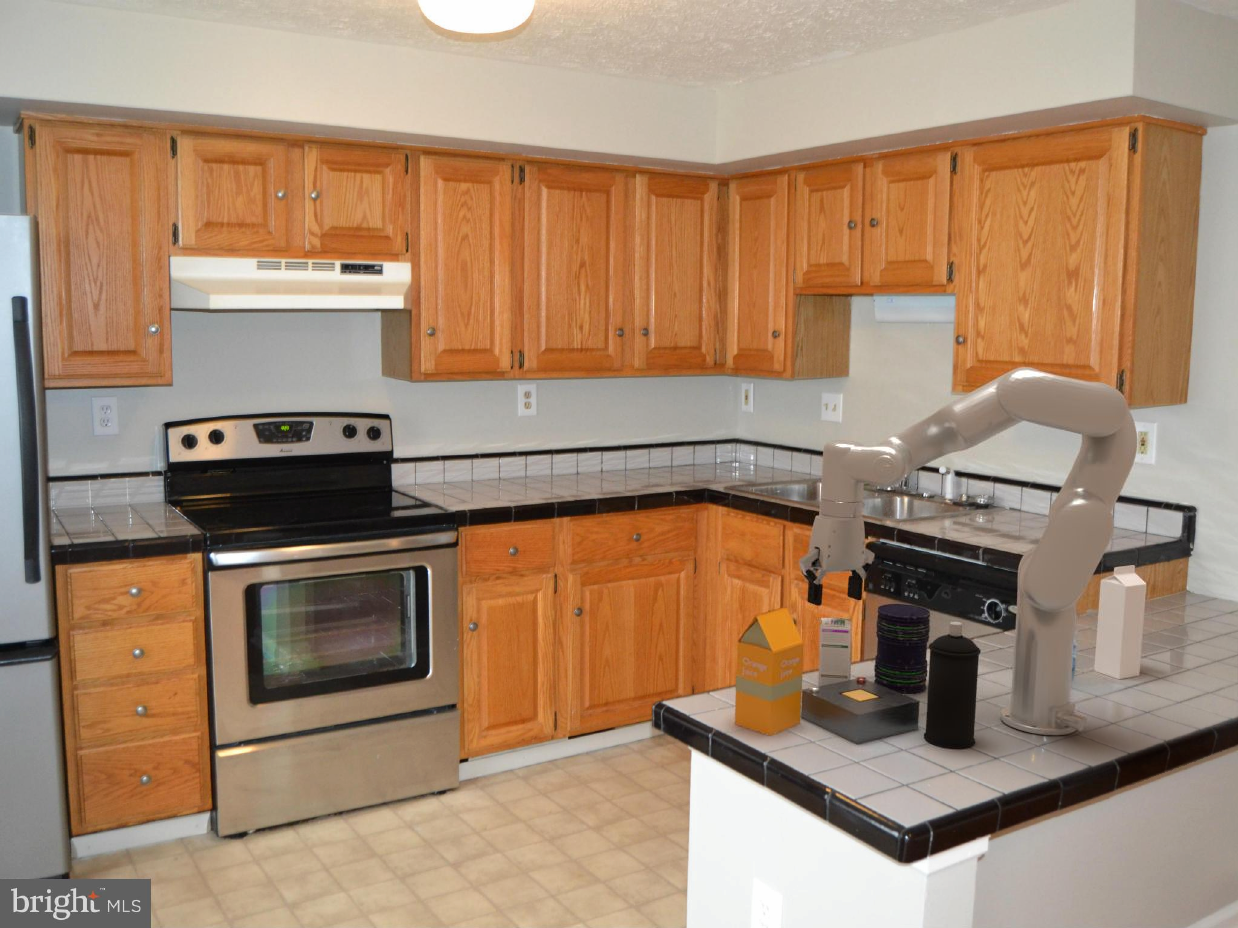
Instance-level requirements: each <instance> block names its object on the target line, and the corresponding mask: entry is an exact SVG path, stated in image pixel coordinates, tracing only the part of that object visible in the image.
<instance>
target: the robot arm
mask: <svg viewBox="0 0 1238 928" xmlns="http://www.w3.org/2000/svg"><path fill="white" fill-rule="evenodd" d="M1022 422H1028V423H1032V424H1035V425H1039V426H1042V427H1047V428H1051V429H1056V430H1061V431H1066V432H1070V433H1074V434H1078V435H1081V443H1080V444H1081V445H1080V449H1079V450H1078V451H1079V452H1078V454H1077V456H1076V458H1075V460H1074V462H1073V465H1072V467H1071V469H1070V472H1069V473H1068V474H1067V477H1066V479H1065V481H1064V483H1063V485H1062V487H1061V488H1060V490H1059V492H1058V494H1057V495H1056V497H1055V499H1054V500H1053V502H1052V503H1051V505H1050V507H1049V510H1048V524H1047V526H1046V527H1045V529H1044V531H1043V533H1042V536H1041V538H1040V540H1039V541H1038V543H1037V545H1034V546H1032V547H1030V548H1029V549H1028V550H1027V551H1026V552H1024V554H1023V555H1022V557H1021V559H1020V561H1019V564H1018V568H1017V593H1016V594H1017V598H1016V600H1017V601H1016V616H1015V632H1014V645H1013V657H1012V658H1013V661H1012V676H1011V677H1012V678H1011V689H1010V691H1011V692H1010V705H1007V706H1005V707H1003V708H1002V709H1001V710H1000V720H1001V721H1002V722H1003V723H1005V725H1007V726H1008V727H1012V728H1013V729H1015V730H1019V731H1023V732H1026V733H1030V734H1035V735H1045V736H1065V735H1069V734H1073V733H1074V732H1076V731H1080V732H1081V731H1083V730H1084V728H1085V726H1086V724H1087V722H1088V717H1087V716H1085V715H1083V714H1078V713H1076V711H1075V710H1076V703H1074V702H1071V687H1072V673H1073V660H1074V658H1073V657H1074V644H1075V634H1076V622H1077V621H1076V617H1077V601H1079V599H1080V598H1081V596H1082V595H1083V593H1084V592H1085V589H1086V587H1087V586H1088V585H1089V583H1090V581H1091V579H1092V577H1093V575H1094V573H1095V571H1096V569H1097V567H1098V565H1099V564H1100V561H1101V560H1102V558H1103V556H1104V554H1105V552H1106V551H1107V548H1108V546H1109V545H1110V542H1111V539H1112V536H1113V533H1114V526H1115V522H1114V517H1113V513H1112V512H1113V509H1114V507H1115V505H1116V503H1117V501H1118V498H1119V497H1120V494H1121V493H1122V490H1123V488H1124V486H1125V484H1126V481H1127V479H1128V478H1129V475H1130V472H1131V471H1132V468H1133V466H1134V462H1135V460H1136V455H1137V451H1138V434H1137V427H1136V424H1135V421H1134V417H1133V415H1132V413H1131V411H1130V409H1129V404H1128V402H1127V399H1126V398H1125V396H1124V395H1123V393H1122V392H1120V391H1119V390H1118V389H1117V388H1115V387H1113V386H1111V385H1109V384H1107V383H1104V382H1100V381H1086V380H1081V379H1076V378H1071V377H1066V376H1062V375H1058V374H1054V373H1050V372H1046V371H1045V372H1044V371H1042V370H1038V369H1036V368H1034V367H1029V366H1022V367H1021V366H1020V367H1016V368H1014V369H1012V370H1010V371H1007V372H1006V373H1005V374H1002V375H1001V376H999V377H996V378H995V379H993V380H991V381H989V382H987V383H986V384H984V385H982V386H980V387H978V388H975V390H972V391H971V392H969V393H967V394H965V395H963V396H961V397H960V398H957V399H956V400H953V401H951V402H949V403H948V404H946V405H945V406H943V407H941V408H939V409H938V410H937V411H935V412H934V413H932V414H931V415H930V416H929V415H928V417H925V418H923V419H922V420H920V421H918V422H916V423H914V424H913V425H911V426H908V427H907V428H905V429H903V430H901V431H900V432H897V433H896V434H894V435H892V436H890V437H888V438H885V439H883V440H882V441H881V442H879V443H877V444H876V445H864V444H863V443H862V442H858V441H853V440H841V439H840V440H830V441H827V442H826V443H825V444H824V447H823V453H822V467H821V484H820V499H819V510H818V511H819V512H818V514H819V515H816V516H815V518H814V521H813V525H812V528H811V534H810V539H809V545H808V553H806V554H805V555H804V556H803V557H801V558H799V560H798V565H799V567H800V570H801V574H802V575H803V577H804V578H805V581H806V582H807V583H808V584H807V585H808V586H807V597H806V598H807V599H806V600H807V603H809V604H811V605H814V606H816V607H817V606H818V607H820V606H821V605H822V603H823V589H824V588H823V586H824V585H823V584H822V583H821V582H822V580H823V579H824V578H825V576H826V574H832V573H834V574H835V573H841V572H843V573H844V572H849V573H850V574H851V575H848V581H847V597H848V598H850V599H853V600H856V601H861V600H862V599H863V587H864V585H863V584H864V579H866V578H867V573H868V572H869V570H870V569H871V567H872V562H873V561H874V559H875V553H874V552H872V551H871V550H870V549H868V548H866V534H865V533H866V532H865V523H864V517H863V516H862V513H863V509H864V508H865V502H864V499H863V498H864V488H865V487H864V486H865V484H868V485H871V486H875V487H880V488H891V487H895V486H897V485H899V484H900V483H901V482H902V481H903V480H904V479H905V478H906V476H907V475H908V474H910V473H912V472H914V471H916V470H918V469H920V468H922V467H923V466H926V465H928V464H929V463H931V462H933V461H936V460H937V459H940V458H943V457H945V456H947V455H949V454H952V453H958V452H963V451H966V450H969V449H972V448H974V447H977V446H978V445H979V444H981V443H983V442H985V441H988V440H989V439H991V438H993V437H995V436H996V435H999V434H1000V433H1002V432H1004V431H1006V430H1008V429H1010V428H1012V427H1015V426H1016V425H1018V424H1020V423H1022Z"/></svg>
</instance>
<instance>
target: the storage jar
mask: <svg viewBox="0 0 1238 928" xmlns="http://www.w3.org/2000/svg"><path fill="white" fill-rule="evenodd" d="M930 617H931V611H930V610H929V609H927V608H924V607H921V606H917V605H912V604H905V603H889V604H882V605H880V606H878V607H877V618H876V632H875V634H876V637H877V647H876V655H875V659H874V662H875V663H874V669H873V670H874V678H875V679H874V682H873V683H876V684H878V685H881V686H883V687H886V688H888V689H891V690H893V691H896V692H898V693H901V694H913V695H918V694H922V693H924V692H925V691H926V689H927V685H926V683H927V677H928V660H927V651H928V642H929V640H930V632H931V630H930V629H931V628H930V627H931V625H930V623H931V622H930Z"/></svg>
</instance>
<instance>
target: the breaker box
mask: <svg viewBox="0 0 1238 928" xmlns="http://www.w3.org/2000/svg"><path fill="white" fill-rule="evenodd" d="M860 689H861V690H863V691H866V692H868V693H871V694H873V695H875V696H878V697H879V698H878V699H874V700H869V701H865V702H860V703H859V702H857V701H855V700H852V699H850V698H848V697H845V696H843V695H842V693H846V692H850V691H855V690H860ZM920 702H921V701H920V700H919V699H915V698H913V697H910V696H909V695H903V694H901V693H898V692H896V691H893V690H891V689H888V688H886V687H883V686H881V685H878V684H876V683H874V682H873V681H871V680H869V679H867V678H866V677H864V676H857V677H856V678H855V679H850V680H848V681H843V682H838V683H833V684H828V685H823V686H815V685H813V686H812V685H811V686H810V687H809V688H804V689H802V691H801V716H800V719H801V718H802V720H803V719H804V720H805V721H808V722H809V723H811V724H815V725H817V726H818V727H820V728H823V729H824V730H827V731H829V732H830V733H832V734H835V735H838V736H839V737H841V738H844V739H846V740H848V741H850V742H851V743H854V744H856V745H858V744H863V743H867V742H871V741H872V742H873V741H875V740H879V739H883V738H887V737H892V736H895V735H900V734H905V733H909V732H912V731H917V730H919V720H920V719H919V718H920Z"/></svg>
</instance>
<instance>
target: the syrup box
mask: <svg viewBox="0 0 1238 928" xmlns="http://www.w3.org/2000/svg"><path fill="white" fill-rule="evenodd" d="M851 670H852V620H851V619H847V618H843V617H842V618H841V617H821V618H820V623H819V649H818V682H817V683H818V684H817V685H818V686H823V685H828V684H833V683H838V682H843V681H848V680H851V674H852V673H851V672H852V671H851ZM818 686H817V687H818Z"/></svg>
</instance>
